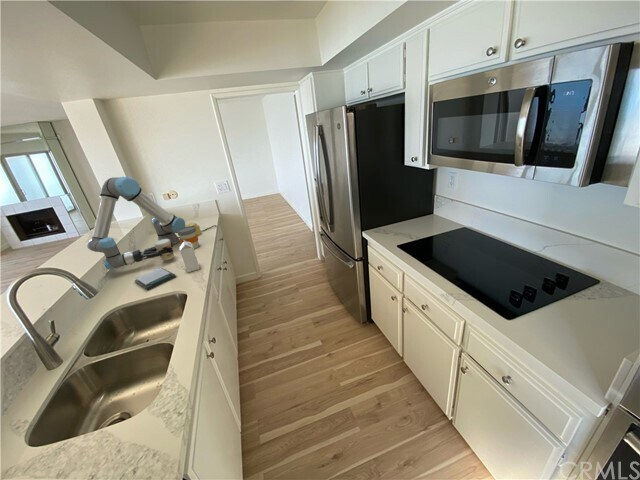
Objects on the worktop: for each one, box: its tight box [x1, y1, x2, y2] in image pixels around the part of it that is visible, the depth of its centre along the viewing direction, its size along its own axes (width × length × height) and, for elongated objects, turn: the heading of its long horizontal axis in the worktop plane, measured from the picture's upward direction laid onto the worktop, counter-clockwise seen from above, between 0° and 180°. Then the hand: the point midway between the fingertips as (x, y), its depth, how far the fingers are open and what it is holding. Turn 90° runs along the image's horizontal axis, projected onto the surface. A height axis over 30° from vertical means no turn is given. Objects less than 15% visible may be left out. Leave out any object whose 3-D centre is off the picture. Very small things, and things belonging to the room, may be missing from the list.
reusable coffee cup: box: [176, 226, 199, 250], centre depth 196 cm, size 13×13×15 cm
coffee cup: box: [154, 239, 175, 261], centre depth 178 cm, size 9×9×12 cm
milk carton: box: [179, 241, 201, 273], centre depth 161 cm, size 7×7×19 cm
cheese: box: [185, 222, 203, 236], centre depth 221 cm, size 10×11×10 cm
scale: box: [134, 267, 177, 292], centre depth 157 cm, size 16×18×3 cm
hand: (172, 246), depth 179 cm, fingers closed on coffee cup, 8 cm apart
